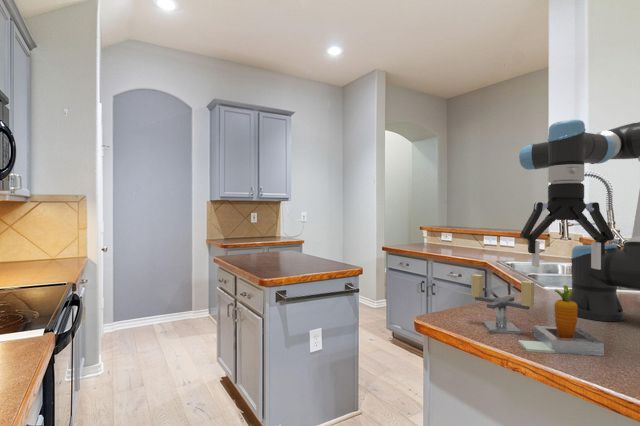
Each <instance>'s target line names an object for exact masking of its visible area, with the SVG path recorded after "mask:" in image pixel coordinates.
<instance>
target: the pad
mask: <svg viewBox="0 0 640 426" xmlns="http://www.w3.org/2000/svg"><path fill="white" fill-rule="evenodd" d="M517 343H518V344H519V345H520V346H521V347H522V348H523V349H524V350H525V351H526V352H530V353H531V352H532V353H546V354H556V353H555V351H554V350H551V349H550V348H549V347H548V346H546V345H545V344H544V343H543V342H539V341H538V340H522V339H521V340H520V339H518V341H517Z"/></svg>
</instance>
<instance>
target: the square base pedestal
mask: <svg viewBox="0 0 640 426" xmlns="http://www.w3.org/2000/svg"><path fill="white" fill-rule="evenodd" d="M507 307H508V306H500V307H497V308H495V320H493V321H492V320H482V324H483V327H485V328H486V329H487V330H488V332H489V333H494V334H495V333H500V334H515V335H522V330H521V329H520V328H519V327H517V326H516V325H515V324H514V323H513V322H511V321H509V322H508V321H507V318H508V317H507V310H508V309H507Z"/></svg>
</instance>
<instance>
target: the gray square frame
mask: <svg viewBox="0 0 640 426" xmlns="http://www.w3.org/2000/svg"><path fill="white" fill-rule="evenodd" d="M532 331H533V332H532V333H533V335H532V337H533V338H534V339H535V340H536V341H539V342H543V343H544V344H545V345H546V346H548V347H549V348H550V349H551V350H554V351H555V353H554V354H569V355H570V354H571V355H582V356H583V355H585V356H597V357H598V356H599V357H605V355H604V354H605V345H604V342H603V341H601V340H599V339H598V338H596V337H594V336H593V335H591V334H589V333H588V332H586V331H585V330H582V329H581V328H579V327H576V329H575V333H574V336H573V338H560V337H559V334H558V331H557V327H556V326H548V325H547V326H546V325H545V326H544V325H533V326H532Z"/></svg>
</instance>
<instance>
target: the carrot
mask: <svg viewBox="0 0 640 426" xmlns="http://www.w3.org/2000/svg"><path fill="white" fill-rule="evenodd" d="M554 292H555V293H557V294H558V295H559V296H560V297H561V299H557V300H556V301H555V303H554V319H555V321H554V322H555V327H557V331H558V334H559V337H560V338H573V336H574V333H575V329H576V328H577V323H578V316H577V308H578V307H577V304H576V303H575V302H573V301H570V300H569V298H570V296H571V294H572V288H569V287H568V285H567V284H564V285H563V292H561V290H559V289H554Z"/></svg>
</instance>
